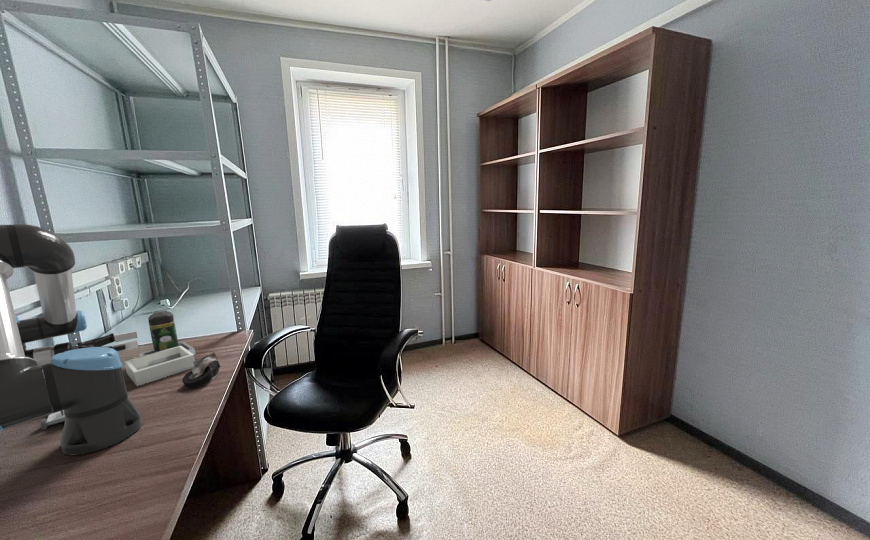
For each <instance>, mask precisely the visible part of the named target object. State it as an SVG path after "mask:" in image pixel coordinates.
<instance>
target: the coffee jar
mask: <svg viewBox="0 0 870 540" xmlns="http://www.w3.org/2000/svg"><path fill="white" fill-rule="evenodd" d="M148 327H149V332H150V337H151V342H152V346H153V350H154V352H155V353H156V352H159V351H163V350H166V349H170V348H174V347H177V346H179V344H178V343H179V340H178V333H177V330H176V324H175V319H174V314H173V313H172V312H170V311H167V310H163V311H161V310H160V311H155V312H153V313H152V314H151V315H149V317H148Z"/></svg>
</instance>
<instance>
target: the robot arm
mask: <svg viewBox="0 0 870 540" xmlns="http://www.w3.org/2000/svg"><path fill="white" fill-rule="evenodd" d="M75 265H76V258H75V253H74V251H73V249H72V248H71V246H70V245H69V244H68V243H67V241H65V240H64V239H63V238H61V237H60V236H59V235H57V234H56V233H54V232H52V231H50V230H48V229H46V228H44V227H40V226H37V225H32V224H27V223H15V224H14V223H13V224H0V432H2V431H4V430H7V429H9V428H12V427H16V426H18V425H22V424H24V423H29V422H31V421H34V420H37V419H41V418H43V417H48V416H49V415H50V414H53V413H56V412H59V411H62V410H63V411H64V414H65V421H64V424H63V429H62V432H61V437H60V440H59V442H60V448H61V452H62V451H63V452H64V453H66V454H65V455H67V454H82V455H84V454H83V453H87V454H90V453H89V452H92V453H94V452H93V451H95V452H98V450H99V451H101V449H102V450H104V449H107V448H110V447H112V446H114V445H117V444H119V443H120V441H121V442H123V441H124V440H126V439H127V437H128V438H129V437H131V436H133V435H134V434H135V433H136V432H137V431H138V430H139V429H140V428H141V427H142V425H143V419H142V415H141V413H140V412H139V410H138V409H137V407H136V406H135V405H134V403H132V401H131V399H130V398H129V395H128V390H127V386H126V381H125V377H124V373H123V362H122V361H121V357H120V355H119V352H123V351H128V350H132V349H133V350H134V349H138V348H139V343H138V340H137V339H138V333H137V330H134V331H130V332H125V333H119V334H114V333H113V332H112V333H109V334H107V335H103V336H100V337H96V338H93V339H89V340H85V341H81V342H77V343H76V345H75V346H73V344H72V343H71V342H70V341H67V342H62V343H61V342H60V343H57V344H55V345H54V346H53V345H52V344H51V345H46V346H41V347H40V346H39V347H35V348H30V349H27V344H26V343H32V342H36V341H41V340H45V339H51V338H56V337H60V336H66V335H73V334H75V333H78V332H83V331H85V330H86V329H87V320H86V316H85V314H84V312H83V311H82V310H80V309H78V310H77V308H76V307H77V305H76V299H75V289H74V282H73V273H72V269H73V268H75ZM18 268H28V269H29V271H31V272H33V273H34V274H33V275H34V279H35V283H36V287H37V292H38V297H39V301H40V302H39V303H40V306H41V310H42V316H38V317H32V318H27V319H22V320H21V319H20V318H19V316H18V315H16V313H15V309H14V306H13V301H12V297H11V293H10V292H11V291H10V288H9V285H8V281H7V280H8V279H9V278H11V277H12V276H13V274H14V272H15V271H14V269H18ZM134 339H135V340H134ZM119 342H121V343H119ZM112 343H117V344H112ZM110 344H112V345H111V346H109V345H110ZM107 345H108V346H107ZM51 405H52V406H51ZM52 409H53V410H52ZM134 432H135V433H134ZM133 433H134V434H133ZM130 435H131V436H130ZM122 440H123V441H122ZM118 442H119V443H118ZM116 443H117V444H116ZM109 446H110V447H109ZM63 452H62V453H63ZM64 453H63V454H64Z"/></svg>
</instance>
